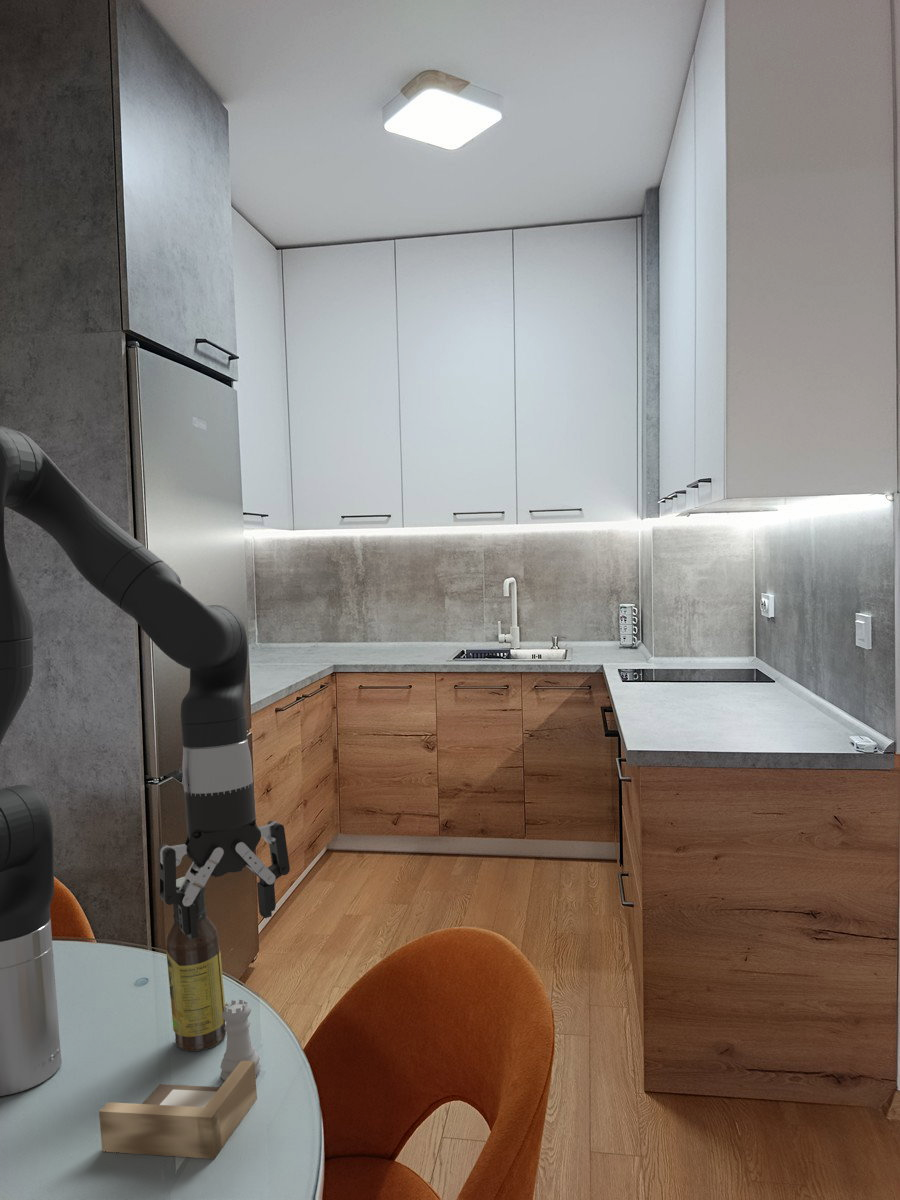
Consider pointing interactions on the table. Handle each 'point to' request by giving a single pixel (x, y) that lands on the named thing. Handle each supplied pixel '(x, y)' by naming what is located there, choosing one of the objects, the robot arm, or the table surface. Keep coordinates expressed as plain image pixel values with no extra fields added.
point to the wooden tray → (180, 1118)
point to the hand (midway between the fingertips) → (229, 926)
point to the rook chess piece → (237, 1038)
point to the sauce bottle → (196, 981)
